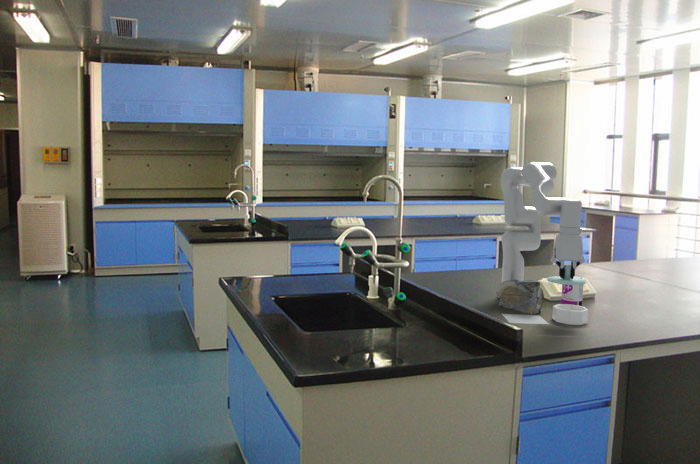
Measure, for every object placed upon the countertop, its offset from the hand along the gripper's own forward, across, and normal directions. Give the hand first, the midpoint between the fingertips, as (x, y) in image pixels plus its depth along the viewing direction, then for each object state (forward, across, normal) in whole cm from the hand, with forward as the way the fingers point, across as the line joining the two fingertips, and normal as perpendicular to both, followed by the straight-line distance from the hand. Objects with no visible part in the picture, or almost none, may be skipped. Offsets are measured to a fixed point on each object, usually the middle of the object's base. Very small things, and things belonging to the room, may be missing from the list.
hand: (566, 277), depth 225 cm
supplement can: (+17, -8, -16) cm, 25 cm away
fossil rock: (+18, +13, -18) cm, 28 cm away
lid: (+1, 0, 0) cm, 1 cm away
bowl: (+17, -2, 0) cm, 17 cm away
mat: (+17, +15, 0) cm, 23 cm away
